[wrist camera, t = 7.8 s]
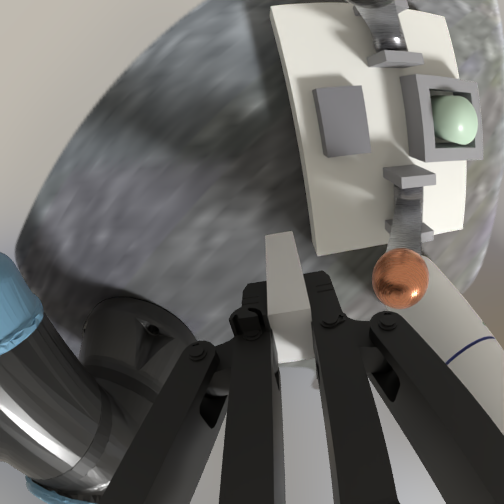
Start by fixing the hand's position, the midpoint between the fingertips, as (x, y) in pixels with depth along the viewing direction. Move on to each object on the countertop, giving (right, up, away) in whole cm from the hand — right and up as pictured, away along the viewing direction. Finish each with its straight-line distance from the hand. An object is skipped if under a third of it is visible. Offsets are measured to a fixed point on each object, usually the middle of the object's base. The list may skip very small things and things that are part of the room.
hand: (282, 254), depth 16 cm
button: (+13, +11, 0) cm, 17 cm away
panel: (+9, +11, +4) cm, 15 cm away
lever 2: (+11, +4, +4) cm, 12 cm away
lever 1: (+8, +16, -2) cm, 18 cm away
